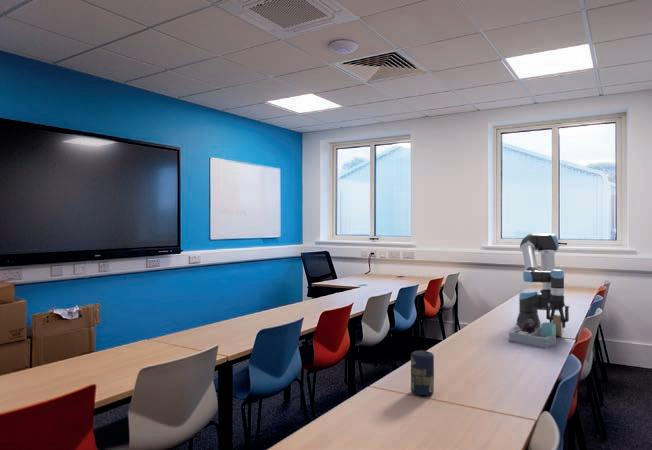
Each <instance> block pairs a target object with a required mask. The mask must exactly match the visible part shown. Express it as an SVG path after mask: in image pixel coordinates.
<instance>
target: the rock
mask: <svg viewBox="0 0 652 450" xmlns="http://www.w3.org/2000/svg"><path fill="white" fill-rule="evenodd" d="M536 326H537V324H536V322H535V321H534V320H533V319H527V320H525V321H524V322H523V323H522V324H521V325H519V329H522V332H528V334H531V333H533V332H536V329H537V327H536Z"/></svg>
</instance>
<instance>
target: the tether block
mask: <svg viewBox="0 0 652 450" xmlns="http://www.w3.org/2000/svg"><path fill="white" fill-rule="evenodd" d="M561 322H562V320H561V316H560V314H554V315H553V323H550V322H542V323H541V325H540V326H541V330H540V331H541V334H540V335H541V336H540V337H542V338H546V337H548V336H550V335H553V334H554V335H556V337H557V336H558V337H559V336H563V333H561Z"/></svg>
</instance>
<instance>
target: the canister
mask: <svg viewBox="0 0 652 450" xmlns="http://www.w3.org/2000/svg"><path fill="white" fill-rule="evenodd" d="M434 358H435V355H434V354H433V352H431V351H429V350H428V351H427V350H415V351H413V352H411V354H410V390H411V392H412V394H414V393H415V394H414V395H416V394H418V395H417V396H420V395H429V396H431V394H432V395H433V394H434V393H435V392H434V391H435V387H434V386H435V384H434V383H435V382H434V381H435V367H434V366H435V360H434Z"/></svg>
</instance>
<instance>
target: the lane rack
mask: <svg viewBox="0 0 652 450" xmlns="http://www.w3.org/2000/svg"><path fill="white" fill-rule="evenodd" d="M519 331H521V332H522V329H520V328H518V329H517V328H516V329H515V330H512V331H509V332H508V338H509V339H508V341H509V342H514V343H519V344H524V345H530V346H535V347H539V348H546V349H547V348H549V347H551V346H553V345H555V344H557V335H554V334H553V335H550V336H548V337H546V338H542V337H541V336H539V331H534V332H533V333H531V334H530V333H529V334H528V335H525V334H519V333H518V332H519Z"/></svg>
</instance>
